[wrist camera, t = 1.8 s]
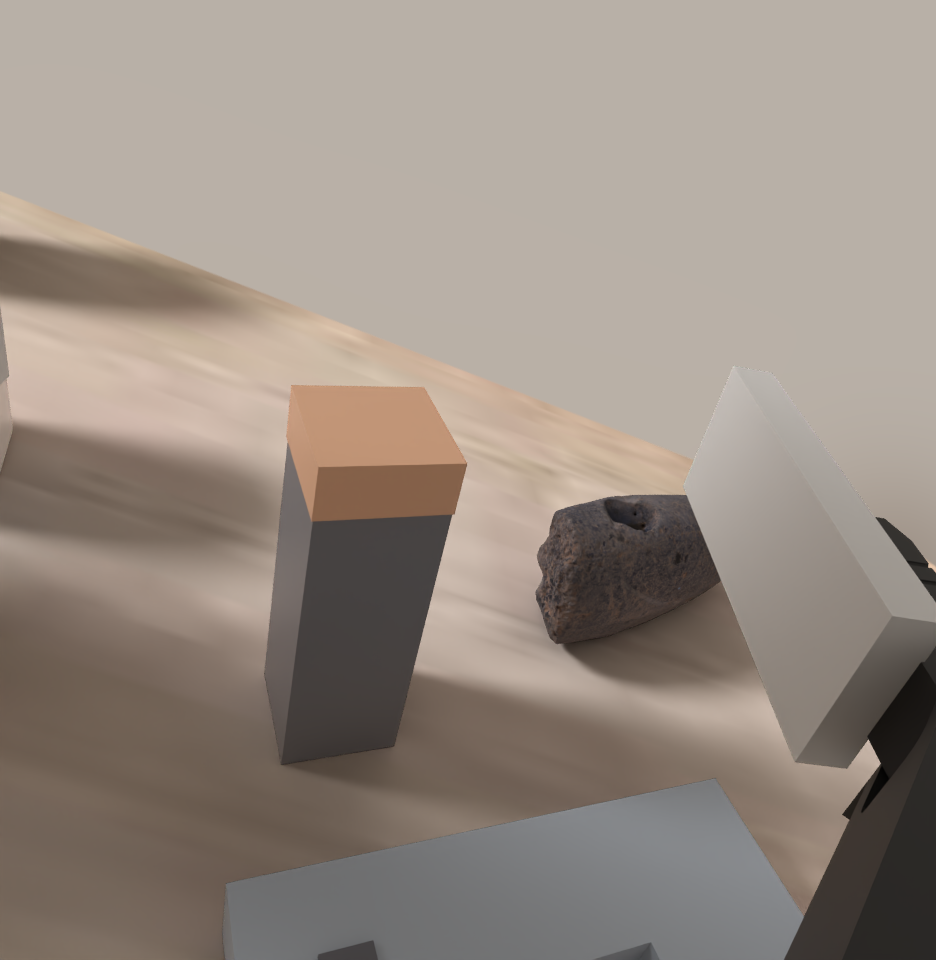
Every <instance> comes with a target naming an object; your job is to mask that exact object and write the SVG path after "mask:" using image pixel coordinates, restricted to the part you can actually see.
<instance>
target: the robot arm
mask: <svg viewBox="0 0 936 960" xmlns="http://www.w3.org/2000/svg"><path fill="white" fill-rule="evenodd" d="M8 377H9V370H8V363H7V355H6V347H5V340H4V332H3V324H2V317H1V309H0V385H1V384H2V383H3V382H4V381H5V380H6V379H7V378H8ZM683 488H684V490H685V492H686V495H687V497H688V500H689V502H690V505H691V507H692V510H693V512H694V515H695V517H696V520H697V522H698V525H699V527H700V529H701V532H702V534H703V537H704V539H705V542H706V544H707V547H708V549H709V552H710V554H711V557H712V559H713V562H714V564H715V566H716V569H717V571H718V574H719V576H720V579H721V581H722V584H723V586H724V589H725V591H726V594H727V596H728V599H729V601H730V603H731V606H732V608H733V611H734V613H735V616H736V618H737V621H738V623H739V626H740V628H741V631H742V633H743V636H744V638H745V640H746V643H747V645H748V648H749V650H750V653H751V655H752V658H753V660H754V663H755V665H756V668H757V670H758V673H759V675H760V677H761V680H762V682H763V685H764V687H765V690H766V692H767V695H768V697H769V700H770V702H771V705H772V707H773V710H774V712H775V714H776V717H777V719H778V722H779V724H780V727H781V729H782V732H783V734H784V737H785V739H786V742H787V744H788V747H789V749H790V751H791V754H792V756H793V759H794V761H795V762H797V763H805V764H814V765H822V766H830V767H838V768H846V769H847V768H848V766H849V765H850V764H851V762H852V761H853V760H854V758H855V757H856V755H857V754H858V753H859V751H860V750H861V749H862V747H863V746H864V745H865V743H866V742H867V740H868V739H869V741H870V743H871V745H872V747H873V749H874V751H875V753H876V755H877V757H878V759H879V761H880V763H881V764H880V766H879V767H878V768H877V770H876V771H875V772H874V774H873V775H872V776H871V778H870V779H869V780H868V782H867V783H866V784H865V786H864V787H863V788H862V789H861V791H860V792H859V793H858V795H857V796H856V797H855V799H854V800H853V801H852V803H851V804H850V805H849V807H848V808H847V809H846V810H845V812H844V813H843V814H842V815H844V816H845V817H846V818H848V819H849V822H848V824H847V827H846V829H845V831H844V833H843V835H842V837H841V839H840V841H839V844H838V846H837V848H836V850H835V852H834V854H833V856H832V858H831V861H830V863H829V865H828V867H827V869H826V871H825V873H824V875H823V878H822V880H821V882H820V884H819V886H818V888H817V890H816V892H815V895H814V897H813V899H812V901H811V903H810V905H809V907H808V909H807V912H806V914H805V916H804V918H803V920H802V922H801V924H800V926H799V929H798V931H797V933H796V935H795V937H794V939H793V941H792V943H791V946H790V948H789V950H788V952H787V954H786V956H785V958H784V960H936V573H935V572H934V570H933V569H932V568H928V562H927V561H926V560H925V558H924V557H923V556H922V554H921V553H920V552H919V550H918V549H917V548H916V546H915V545H914V543H913V542H912V541H911V540H910V539H909V538H907V537H906V536H905V535H904V534H903V533H901V532H900V531H899V530H898V529H897V528H895V527H894V526H893V525H891V524H890V523H889V522H888V521H887V520H886V519H884V518H877V517H875V516H874V515H873V514H872V512H871V511H870V509H869V508H868V507H867V505H866V504H865V502H864V501H863V500H862V498H861V497H860V496H859V494H858V493H857V491H856V490H855V488H854V487H853V486H852V484H851V483H850V481H849V480H848V479H847V478H846V476H845V475H844V473H843V471H842V470H841V469H840V467H839V466H838V465H837V463H836V462H835V460H834V459H833V457H832V456H831V455H830V453H829V452H828V451H827V449H826V448H825V446H824V445H823V443H822V442H821V441H820V439H819V438H818V436H817V435H816V434H815V432H814V431H813V430H812V428H811V427H810V425H809V424H808V422H807V421H806V420H805V418H804V417H803V415H802V414H801V413H800V411H799V410H798V408H797V407H796V406H795V404H794V403H793V401H792V400H791V398H790V397H789V396H788V394H787V393H786V391H785V390H784V389H783V387H782V386H781V385H780V383H779V382H778V380H777V379H776V377H775V376H774V375H773V373H770V372H765V371H759V370H754V369H748V368H743V367H737V366H733V368H732V371H731V373H730V375H729V378H728V380H727V383H726V385H725V387H724V390H723V392H722V394H721V397H720V399H719V402H718V404H717V406H716V409H715V411H714V414H713V416H712V418H711V421H710V423H709V425H708V428H707V430H706V433H705V435H704V437H703V440H702V442H701V445H700V447H699V449H698V452H697V454H696V457H695V459H694V461H693V463H692V466H691V468H690V471H689V473H688V475H687V478H686V480H685V483H684V485H683Z"/></svg>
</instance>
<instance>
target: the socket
mask: <svg viewBox="0 0 936 960" xmlns="http://www.w3.org/2000/svg"><path fill="white" fill-rule="evenodd" d="M803 918H804V916H803V914H802V913H801V911H800V910H799V908H798V906H797V905H796V903H795V902H794V900H793V899H792V897H791V896H790V894H789V892H788V891H787V889H786V888H785V886H784V885H783V883H782V881H781V880H780V878H779V877H778V875H777V874H776V872H775V871H774V869H773V867H772V866H771V864H770V863H769V861H768V860H767V858H766V856H765V855H764V853H763V852H762V850H761V849H760V847H759V846H758V844H757V842H756V841H755V839H754V838H753V836H752V835H751V833H750V831H749V830H748V828H747V827H746V825H745V824H744V822H743V821H742V819H741V817H740V816H739V814H738V813H737V811H736V810H735V808H734V806H733V805H732V803H731V802H730V800H729V799H728V797H727V796H726V794H725V792H724V791H723V789H722V788H721V786H720V785H719V783H718V781H717V780H716V778H714V779H709V780H705V781H700V782H695V783H691V784H686V785H681V786H677V787H672V788H667V789H663V790H658V791H653V792H649V793H644V794H639V795H635V796H630V797H625V798H621V799H616V800H612V801H607V802H602V803H598V804H593V805H588V806H584V807H579V808H574V809H570V810H565V811H560V812H556V813H551V814H546V815H542V816H537V817H532V818H528V819H523V820H518V821H514V822H509V823H504V824H500V825H495V826H490V827H486V828H481V829H476V830H472V831H467V832H462V833H458V834H453V835H449V836H444V837H439V838H435V839H430V840H425V841H421V842H416V843H411V844H407V845H402V846H397V847H393V848H388V849H383V850H379V851H374V852H369V853H365V854H360V855H355V856H351V857H346V858H341V859H337V860H332V861H327V862H323V863H318V864H313V865H309V866H304V867H299V868H295V869H290V870H286V871H281V872H276V873H272V874H267V875H262V876H258V877H253V878H248V879H244V880H239V881H234V882H230V883H226V891H225V904H224V917H223V930H222V936H223V945H224V955H225V960H784V958H785V956H786V954H787V952H788V950H789V948H790V946H791V943H792V941H793V939H794V937H795V935H796V933H797V931H798V929H799V926H800V924H801V922H802V920H803Z"/></svg>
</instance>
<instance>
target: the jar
mask: <svg viewBox="0 0 936 960" xmlns="http://www.w3.org/2000/svg"><path fill="white" fill-rule="evenodd" d="M12 432H13V425H12V417H11V409H10V401H9V393H8V386H7V379H6V380H5V381H4V382H3V383H2V384H1V385H0V472H1V469H2V465H3V462H4V459H5V455H6V452H7V449H8V445H9V442H10V439H11V435H12Z"/></svg>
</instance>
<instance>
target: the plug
mask: <svg viewBox="0 0 936 960" xmlns="http://www.w3.org/2000/svg"><path fill="white" fill-rule="evenodd" d="M286 437H287V440H288V443H287V453H286V463H285V473H284V483H283V493H282V503H281V513H280V523H279V533H278V543H277V553H276V563H275V573H274V583H273V593H272V603H271V613H270V623H269V633H268V643H267V653H266V663H265V673H264V674H265V680H266V685H267V691H268V696H269V701H270V707H271V712H272V717H273V723H274V728H275V734H276V739H277V744H278V750H279V755H280V760H281V765H282V764H288V763H295V762H301V761H307V760H313V759H319V758H325V757H331V756H337V755H343V754H349V753H355V752H362V751H368V750H374V749H380V748H386V747H392V746H394V744H395V740H396V737H397V733H398V729H399V725H400V721H401V717H402V713H403V709H404V705H405V701H406V697H407V693H408V689H409V685H410V681H411V677H412V673H413V669H414V665H415V661H416V657H417V653H418V649H419V645H420V641H421V637H422V633H423V629H424V625H425V621H426V617H427V613H428V609H429V605H430V601H431V597H432V593H433V589H434V585H435V581H436V577H437V573H438V569H439V565H440V561H441V557H442V553H443V549H444V545H445V541H446V537H447V533H448V529H449V525H450V521H451V517H452V515H453V514H455V510H456V506H457V502H458V498H459V494H460V490H461V486H462V482H463V478H464V474H465V471H466V467H467V462H466V460H465V459H464V457H463V455H462V453H461V452H460V450H459V448H458V446H457V445H456V443H455V441H454V439H453V437H452V436H451V434H450V432H449V430H448V429H447V427H446V425H445V423H444V422H443V420H442V418H441V416H440V414H439V413H438V411H437V409H436V407H435V406H434V404H433V402H432V400H431V399H430V397H429V395H428V393H427V392H426V390H425V388H424V387H370V386H303V385H291V395H290V405H289V415H288V425H287V435H286Z"/></svg>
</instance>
